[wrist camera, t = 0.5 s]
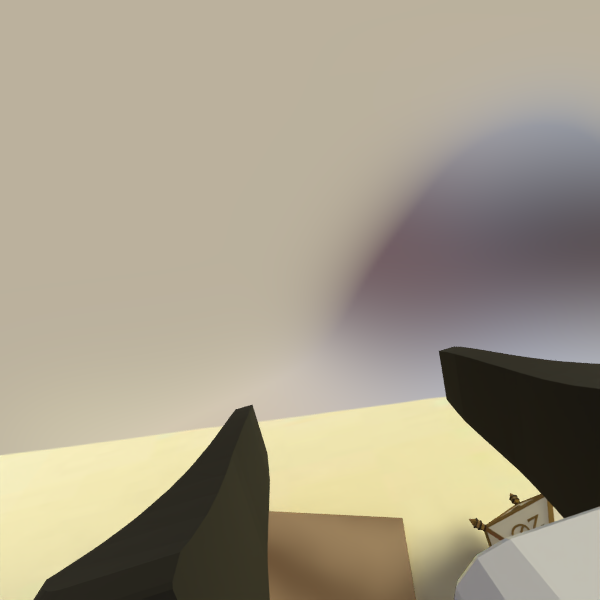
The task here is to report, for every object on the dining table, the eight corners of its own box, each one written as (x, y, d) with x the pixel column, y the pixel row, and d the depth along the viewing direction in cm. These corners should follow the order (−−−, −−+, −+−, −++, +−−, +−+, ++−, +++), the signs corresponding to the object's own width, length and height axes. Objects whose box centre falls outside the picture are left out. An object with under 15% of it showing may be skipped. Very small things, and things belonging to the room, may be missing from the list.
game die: (530, 662, 20) (492, 708, 14) (475, 503, 25) (431, 485, 19) (729, 678, 16) (799, 753, 10) (611, 485, 21) (609, 455, 15)
